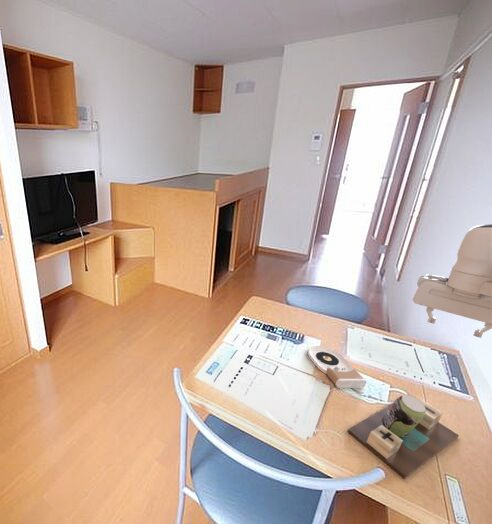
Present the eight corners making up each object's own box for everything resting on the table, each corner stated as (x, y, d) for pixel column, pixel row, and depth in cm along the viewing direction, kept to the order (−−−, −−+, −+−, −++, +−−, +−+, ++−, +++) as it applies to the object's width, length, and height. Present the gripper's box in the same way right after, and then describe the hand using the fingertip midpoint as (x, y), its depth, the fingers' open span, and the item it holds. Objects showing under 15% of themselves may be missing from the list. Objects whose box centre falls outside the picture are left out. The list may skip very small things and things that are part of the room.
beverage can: (392, 418, 88) (406, 386, 83) (418, 441, 81) (435, 408, 77) (374, 422, 87) (388, 390, 82) (399, 445, 80) (415, 412, 76)
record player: (335, 380, 99) (303, 342, 117) (332, 388, 100) (302, 349, 118) (370, 380, 99) (333, 342, 117) (367, 387, 100) (331, 349, 119)
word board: (400, 400, 95) (405, 388, 93) (457, 437, 84) (465, 424, 82) (347, 431, 85) (352, 418, 83) (404, 479, 73) (411, 465, 71)
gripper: (418, 273, 88) (404, 317, 92) (529, 297, 73) (506, 348, 76) (422, 271, 92) (408, 313, 95) (528, 293, 77) (507, 341, 80)
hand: (453, 329), depth 86 cm, fingers open, 8 cm apart
